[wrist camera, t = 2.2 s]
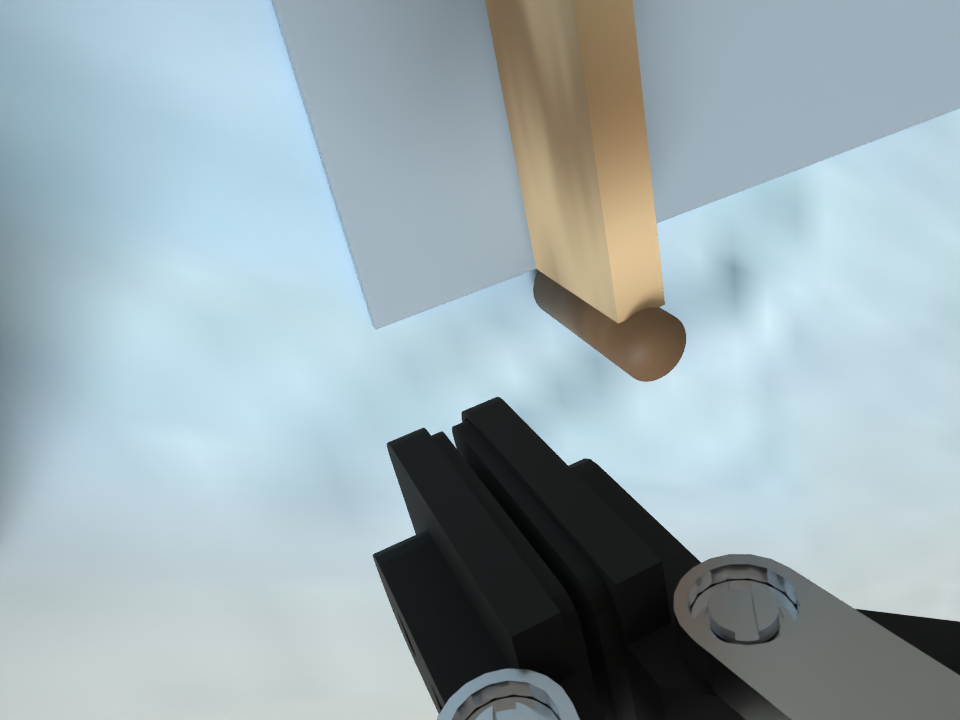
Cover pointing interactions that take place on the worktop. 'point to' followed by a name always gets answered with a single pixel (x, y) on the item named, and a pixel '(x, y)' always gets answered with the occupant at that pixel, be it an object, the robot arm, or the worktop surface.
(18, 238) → the worktop surface
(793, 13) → the card
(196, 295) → the worktop surface
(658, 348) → the fence panel
